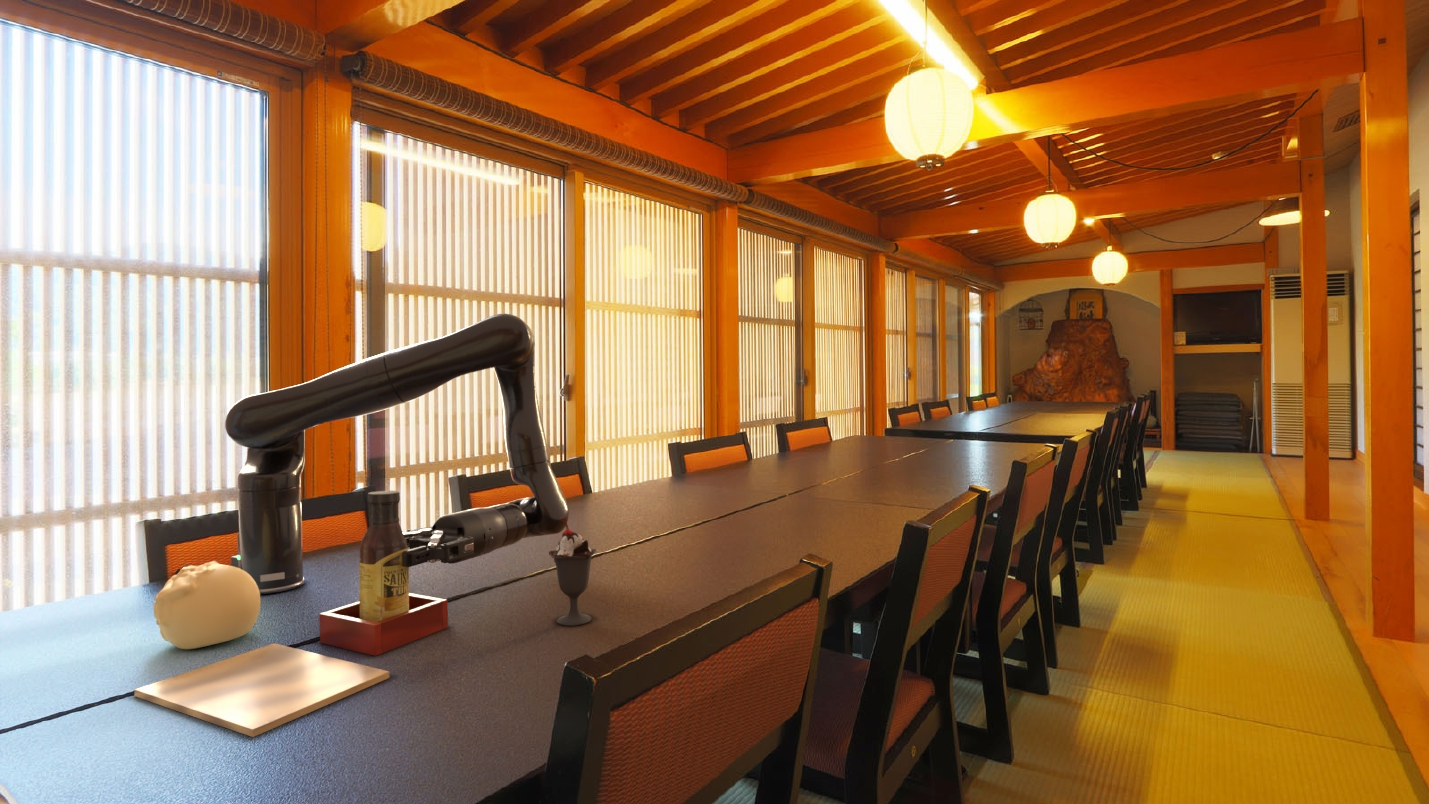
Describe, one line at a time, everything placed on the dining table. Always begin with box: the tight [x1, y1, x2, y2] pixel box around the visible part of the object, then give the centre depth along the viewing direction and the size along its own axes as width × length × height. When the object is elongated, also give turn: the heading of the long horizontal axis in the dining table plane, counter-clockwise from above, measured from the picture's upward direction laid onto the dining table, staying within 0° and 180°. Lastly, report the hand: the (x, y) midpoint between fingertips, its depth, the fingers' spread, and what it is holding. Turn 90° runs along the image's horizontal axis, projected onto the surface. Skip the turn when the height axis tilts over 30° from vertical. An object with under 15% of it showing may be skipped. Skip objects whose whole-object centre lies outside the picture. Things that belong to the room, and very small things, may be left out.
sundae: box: [548, 517, 597, 627], centre depth 107 cm, size 7×7×15 cm
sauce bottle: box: [359, 490, 410, 622], centre depth 101 cm, size 7×6×20 cm
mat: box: [133, 642, 390, 738], centre depth 85 cm, size 22×16×1 cm
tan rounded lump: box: [152, 560, 262, 650], centre depth 100 cm, size 11×12×11 cm
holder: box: [318, 592, 449, 657], centre depth 102 cm, size 11×12×4 cm
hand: (382, 556), depth 101 cm, fingers open, 8 cm apart
